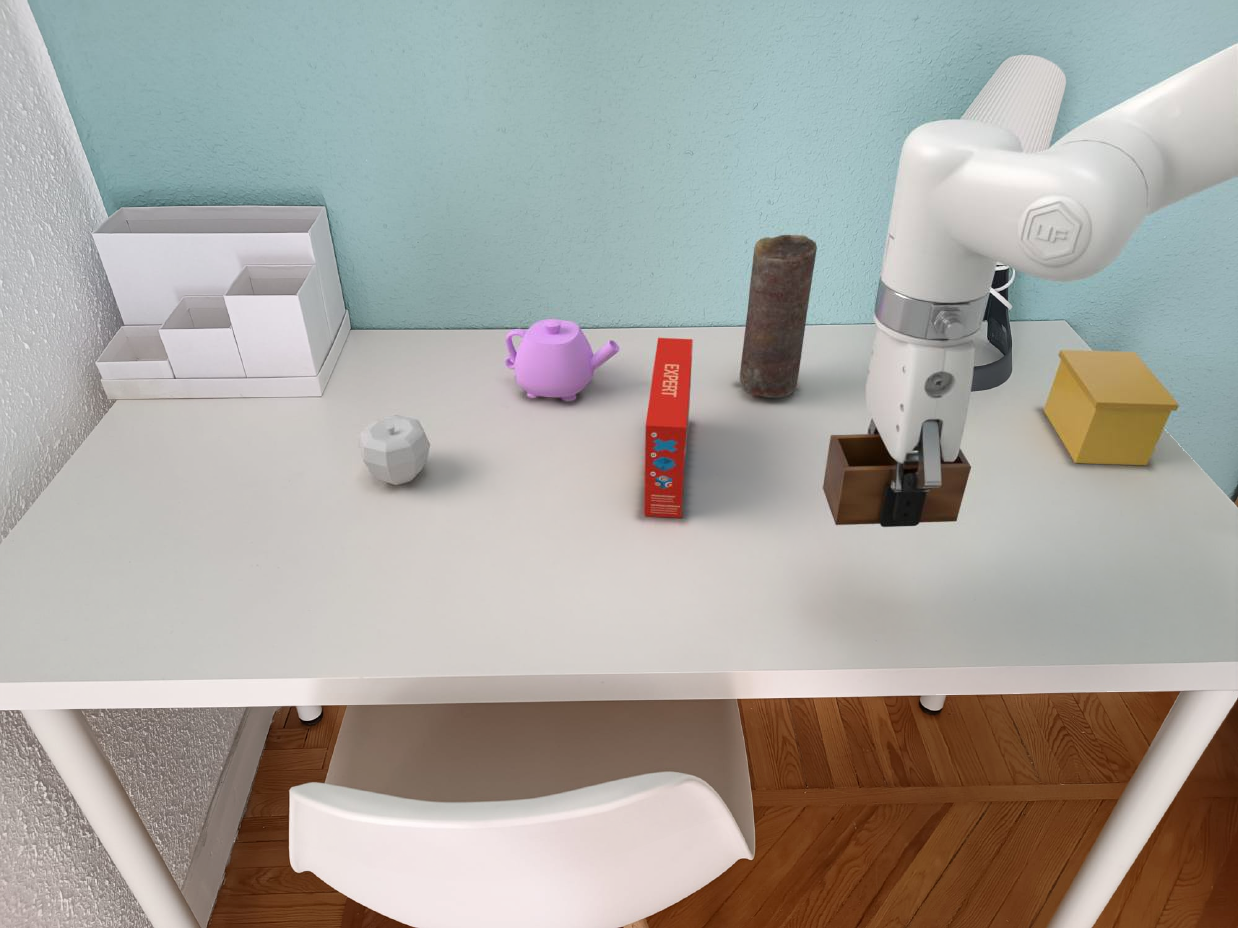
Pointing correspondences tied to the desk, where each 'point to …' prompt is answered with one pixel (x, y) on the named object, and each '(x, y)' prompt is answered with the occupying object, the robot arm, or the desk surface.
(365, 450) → the apple
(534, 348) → the teapot
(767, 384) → the candle
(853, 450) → the wooden cubby shelf
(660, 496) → the toy box
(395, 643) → the desk surface
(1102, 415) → the box
